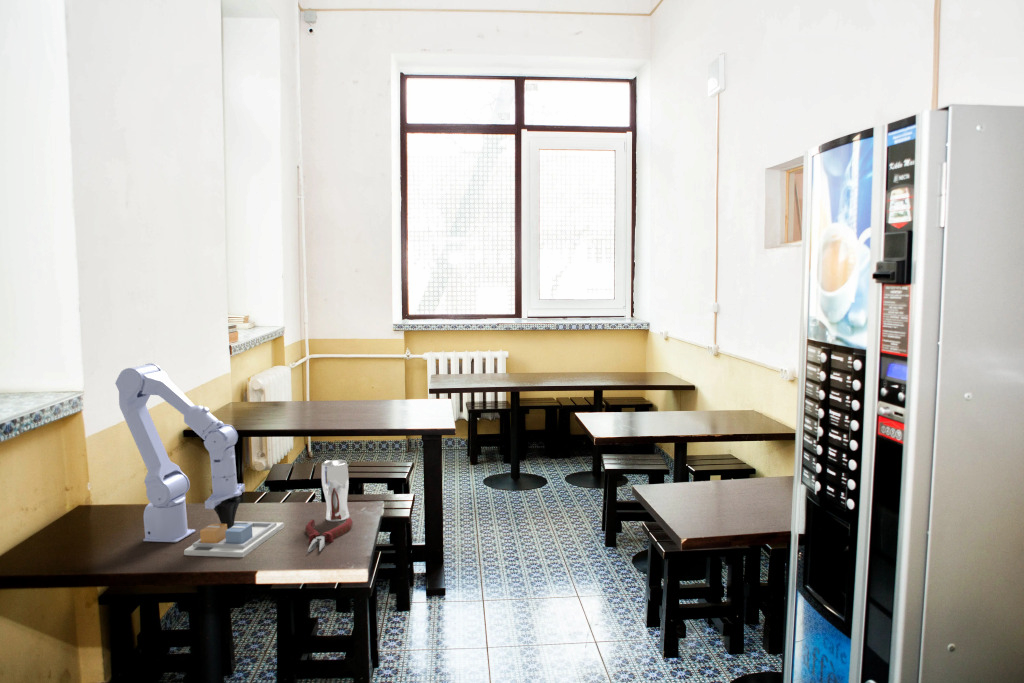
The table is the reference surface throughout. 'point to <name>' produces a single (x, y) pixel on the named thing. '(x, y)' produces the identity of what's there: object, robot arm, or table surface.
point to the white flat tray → (223, 549)
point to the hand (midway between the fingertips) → (228, 528)
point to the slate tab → (239, 534)
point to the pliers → (325, 534)
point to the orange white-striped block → (213, 533)
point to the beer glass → (335, 489)
